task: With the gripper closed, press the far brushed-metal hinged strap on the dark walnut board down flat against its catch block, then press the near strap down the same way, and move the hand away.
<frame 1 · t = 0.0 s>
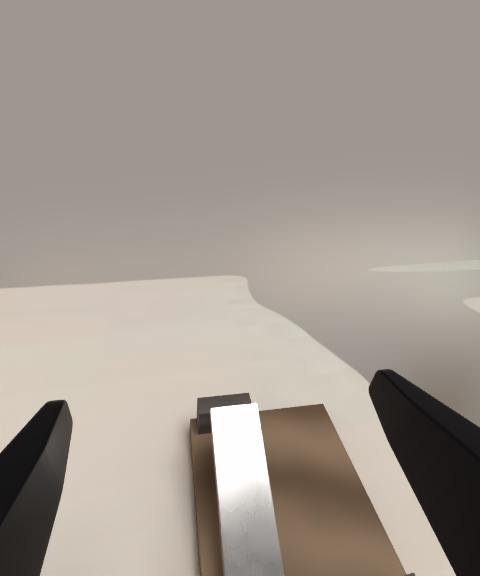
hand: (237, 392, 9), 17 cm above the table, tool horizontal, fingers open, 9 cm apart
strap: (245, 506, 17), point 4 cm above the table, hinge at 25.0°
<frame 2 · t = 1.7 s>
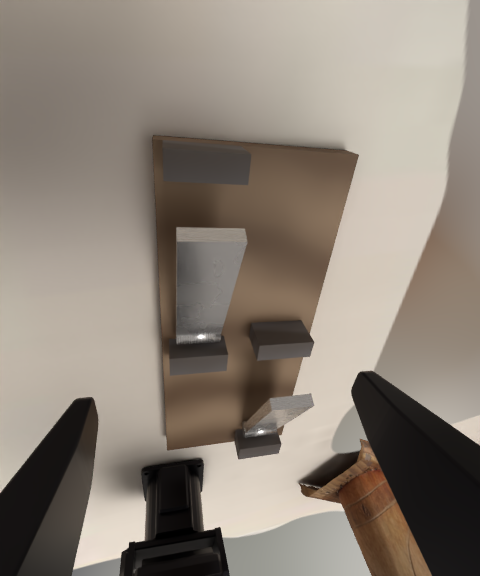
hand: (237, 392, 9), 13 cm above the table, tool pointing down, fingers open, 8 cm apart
walnut board: (235, 326, 25), on the table
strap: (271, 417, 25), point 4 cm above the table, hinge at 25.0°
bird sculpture: (350, 467, 43), on the table
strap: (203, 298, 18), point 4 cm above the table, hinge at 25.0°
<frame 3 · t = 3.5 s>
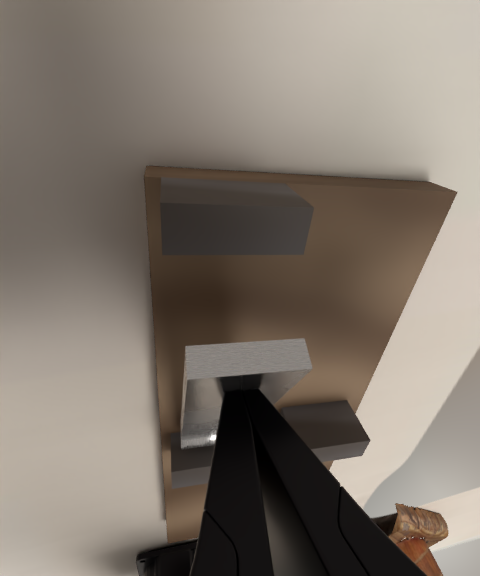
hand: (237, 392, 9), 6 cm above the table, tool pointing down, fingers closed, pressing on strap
walnut board: (258, 403, 19), on the table
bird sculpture: (380, 528, 37), on the table
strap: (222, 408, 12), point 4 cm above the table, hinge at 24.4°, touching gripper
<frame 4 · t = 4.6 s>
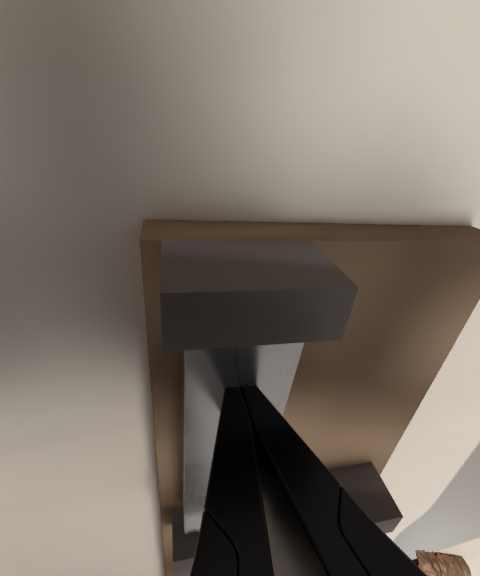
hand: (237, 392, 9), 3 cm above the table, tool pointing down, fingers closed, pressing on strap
walnut board: (270, 463, 17), on the table
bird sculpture: (397, 573, 35), on the table
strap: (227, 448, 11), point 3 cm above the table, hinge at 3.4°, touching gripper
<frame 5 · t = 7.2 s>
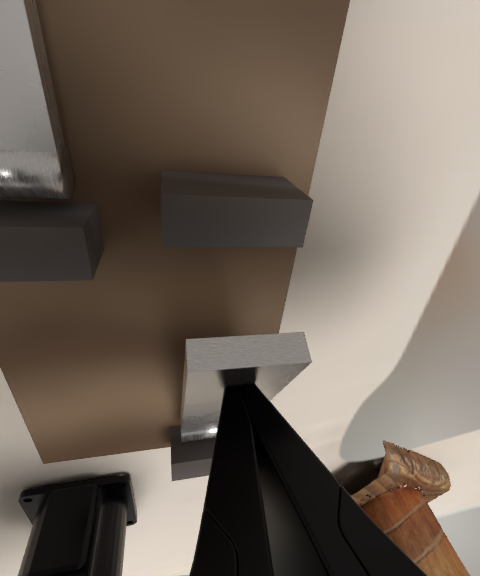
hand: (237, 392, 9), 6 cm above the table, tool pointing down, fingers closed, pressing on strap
walnut board: (142, 202, 11), on the table
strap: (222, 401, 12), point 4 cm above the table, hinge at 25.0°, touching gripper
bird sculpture: (365, 480, 30), on the table
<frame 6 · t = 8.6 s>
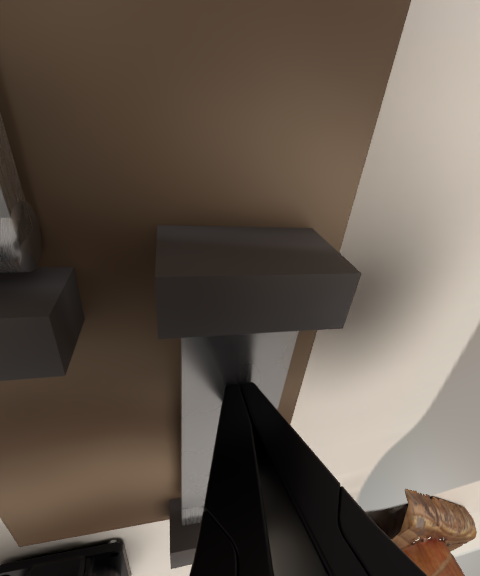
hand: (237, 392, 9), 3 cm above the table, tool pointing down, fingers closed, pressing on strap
walnut board: (134, 254, 9), on the table
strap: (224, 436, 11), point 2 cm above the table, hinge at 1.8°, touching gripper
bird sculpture: (383, 526, 27), on the table
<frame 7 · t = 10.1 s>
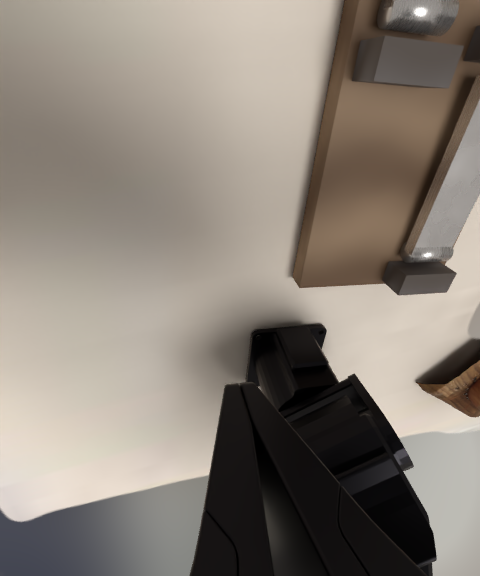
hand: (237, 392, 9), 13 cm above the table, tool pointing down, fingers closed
walnut board: (429, 63, 17), on the table
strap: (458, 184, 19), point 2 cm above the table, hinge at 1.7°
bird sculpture: (475, 364, 36), on the table
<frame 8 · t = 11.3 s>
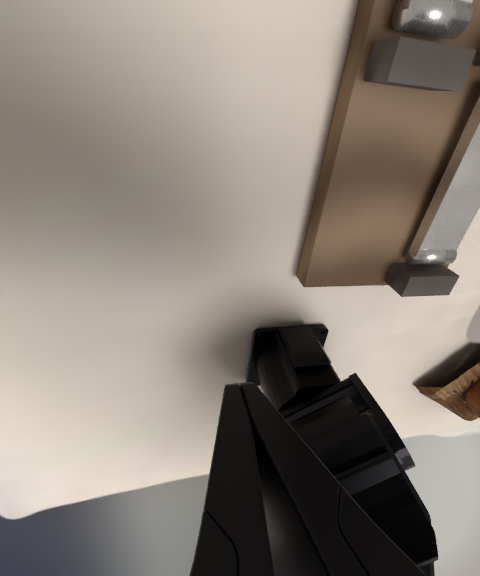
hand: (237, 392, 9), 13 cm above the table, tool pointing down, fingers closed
walnut board: (439, 67, 17), on the table
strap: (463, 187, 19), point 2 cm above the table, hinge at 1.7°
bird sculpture: (472, 368, 36), on the table
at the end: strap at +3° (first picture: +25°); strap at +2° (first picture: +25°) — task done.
